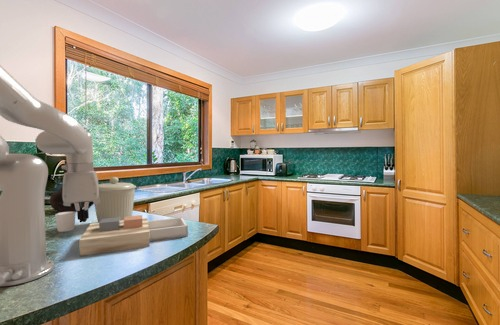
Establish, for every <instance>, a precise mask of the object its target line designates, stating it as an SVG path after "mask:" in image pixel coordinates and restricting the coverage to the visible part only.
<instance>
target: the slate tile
mask: <svg viewBox="0 0 500 325" xmlns="http://www.w3.org/2000/svg"><path fill="white" fill-rule="evenodd" d="M119 229H120V217H116V218H106V219H101V221H100V223H99V232H102V231H111V230H119Z"/></svg>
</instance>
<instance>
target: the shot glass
mask: <svg viewBox="0 0 500 325" xmlns="http://www.w3.org/2000/svg"><path fill="white" fill-rule="evenodd" d="M76 213H77V211H69V212H58V213H55V221H56V222H55V223H56V229H57V232H59V233H63V232H70V231H72V230H75V224H76V215H77V214H76Z"/></svg>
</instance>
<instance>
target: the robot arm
mask: <svg viewBox="0 0 500 325" xmlns="http://www.w3.org/2000/svg"><path fill="white" fill-rule="evenodd" d="M0 116H1V117H2V118H3V119H5V120H6V121H8V122H11V123H13V124H17V125H19V126H20V125H21V126H25V127H29V128H33V129H37V130H40V131H41V130H42V131H41V132H40V133H39V134H38V135H37V136H36V137H35V146H36V147H37V149H38V150H40V151H41V152H43V153H45V154H49V155H65V156H66V157H65V159H66V160H65V161H67V164H66V165H65V164H64V165H61V170H64V171H65V170H66V171H67V173H64V172H63V178H62V184H63V193H62V197H63V205H64V206H71V207H73V208H74V209H76V211H75V212H76V213H77V214H76V215H77V220H79V223H86V221H87V220H88V219H89V217H90V216H89V215H90V214H89V212H90V211H89V210H90V208H91V207H92V206H93V205H95V204H97V203H100V201H101V200H100V197H99V195H100V193H99V183H100V182H99V178H98V175H97V171H96V170H95V169H94V148H93V147H94V146H93V135H92V134H91V133H90V132H88V131H87V130H86V129H85V128H84V127H83V126H82V125H81V124H80V123H79V122H78V121H77V120H76V119H75V118H74V117H72V116H71V115H69V114H67V113H65V112H63V111H62V110H59V109H57V108H56V107H54V106H51V105H50V104H48V103H46V102H44V101H41V100H39V99H37V98H36V97H35V96H34V95H33V94H32V93H31V92H29V90H27V89H26V87H24V86H23V85H22V84H21V83H20V82H19V81H18V80H17V79H16V78H14V76H13V75H11V73H9V72H8V70H6V69H5V68H4V67H3V66H2V65H1V64H0ZM48 177H49V168H48V165H47V163H46V162H45V160H43V159H42V158H41V157H39V156H37V155H33V154H29V153H10V147H9V144H8V142H7V140H6V139H5V138H3V136H2V135H0V192H1V194H0V287H10V286H16V285H21V284H24V283H27V282H32V281H34V280H38V279H40V278H42V277H44V276H46V275H47V274H49V273H51V271H53V270H54V269H55V264H54V262H53V261H52V260H47V242H46V241H47V238H46V236H47V235H46V214H45V213H46V212H45V193H46V187H47V182H48ZM80 202H85V204H84V207H83V208H82V207H81V203H80Z"/></svg>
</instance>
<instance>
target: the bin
mask: <svg viewBox="0 0 500 325" xmlns="http://www.w3.org/2000/svg"><path fill="white" fill-rule="evenodd" d="M148 226H149V242H156V241H163V240H170V239H177V238H178V239H179V238H184V237H188V236H189V231H188V226H189V225H188V224H187V222H186V221H185V220H184V218H183V217H172V218H162V219H154V220H148Z"/></svg>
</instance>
